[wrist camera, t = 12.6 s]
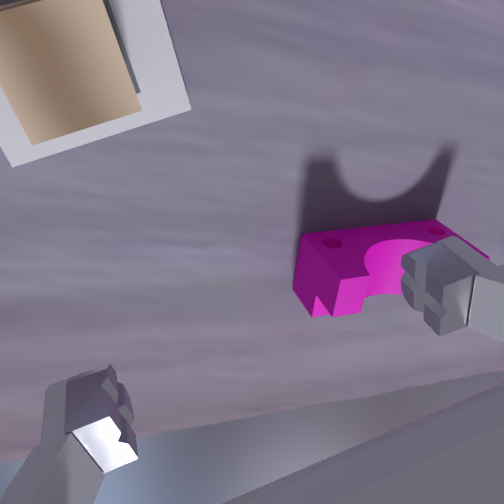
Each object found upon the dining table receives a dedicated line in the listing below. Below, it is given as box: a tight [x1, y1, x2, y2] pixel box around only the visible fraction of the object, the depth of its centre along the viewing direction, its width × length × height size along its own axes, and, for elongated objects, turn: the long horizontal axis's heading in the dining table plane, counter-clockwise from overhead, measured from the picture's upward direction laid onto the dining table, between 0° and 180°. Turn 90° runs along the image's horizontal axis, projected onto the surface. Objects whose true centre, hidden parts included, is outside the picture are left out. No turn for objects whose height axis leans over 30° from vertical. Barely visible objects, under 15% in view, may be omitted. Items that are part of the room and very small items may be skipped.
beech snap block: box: [0, 0, 142, 145], centre depth 20 cm, size 5×5×5 cm
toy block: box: [293, 219, 490, 317], centre depth 41 cm, size 15×6×8 cm, turn 85°
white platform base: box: [0, 0, 191, 167], centre depth 24 cm, size 12×12×5 cm
